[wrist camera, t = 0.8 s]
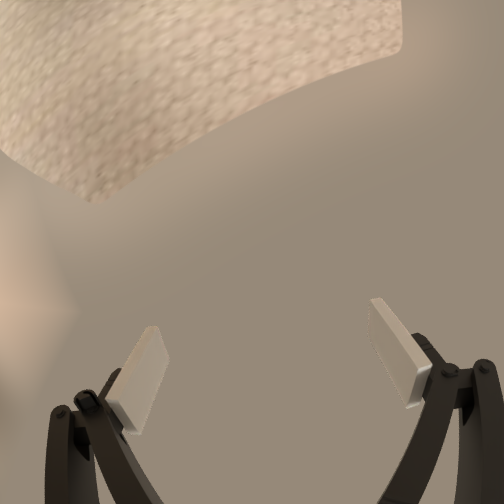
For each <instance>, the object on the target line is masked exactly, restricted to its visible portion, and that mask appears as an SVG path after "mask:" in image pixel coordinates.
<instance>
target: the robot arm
mask: <svg viewBox="0 0 504 504" xmlns="http://www.w3.org/2000/svg"><path fill="white" fill-rule="evenodd" d="M367 336H368V338H369V340H370V342H371V344H372V345H373V347H374V349H375V351H376V353H377V354H378V356H379V358H380V360H381V362H382V364H383V365H384V367H385V369H386V371H387V373H388V375H389V377H390V378H391V380H392V382H393V384H394V386H395V388H396V390H397V392H398V394H399V396H400V398H401V399H402V402H403V404H404V405H405V407H406V409H407V408H410V407H413V406H416V405H419V404H420V401H421V399H422V397H423V398H424V400H425V405H424V407H423V410H422V412H421V415H420V418H419V420H418V423H417V425H416V428H415V430H414V433H413V435H412V437H411V440H410V442H409V444H408V447H407V449H406V451H405V453H404V455H403V457H402V459H401V461H400V463H399V465H398V467H397V469H396V471H395V473H394V475H393V476H392V478H391V480H390V482H389V484H388V485H387V487H386V489H385V491H384V492H383V494H382V496H381V497H380V499H379V501H378V502H377V504H418V503H419V501H420V499H421V497H422V495H423V493H424V491H425V489H426V486H427V484H428V482H429V479H430V477H431V474H432V472H433V470H434V467H435V465H436V462H437V459H438V456H439V454H440V451H441V448H442V445H443V442H444V439H445V436H446V433H447V430H448V426H449V423H450V419H451V416H452V412H453V409H457V408H459V461H458V475H457V486H456V494H455V501H454V504H504V401H503V396H502V392H501V387H500V382H499V378H498V374H497V370H496V367H495V365H494V363H493V362H491V361H489V360H487V359H480V360H478V361H476V362H475V364H474V366H473V368H470V369H459V368H458V367H457V366H456V365H454V364H451V363H446V362H445V361H444V360H443V358H442V357H441V356H440V354H439V353H438V352H437V351H436V350H435V348H433V346H432V345H431V344H430V342H429V341H428V340H427V338H426V337H425V336H423V335H421V334H419V333H415V334H411V335H410V333H409V332H408V331H407V330H406V328H405V327H404V326H403V324H402V323H401V322H400V321H399V319H398V318H397V317H396V316H395V314H394V313H393V312H392V311H391V310H390V308H389V307H388V306H387V305H386V303H385V302H384V301H383V300H382V299H381V298H376V299H370V301H369V320H368V334H367ZM169 361H170V359H169V356H168V353H167V351H166V348H165V346H164V343H163V340H162V337H161V334H160V332H159V329H158V326H152V327H147V328H146V329H145V331H144V333H143V334H142V336H141V337H140V339H139V341H138V343H137V344H136V346H135V347H134V349H133V351H132V353H131V354H130V356H129V358H128V359H127V361H126V363H125V364H124V366H123V368H118V369H116V370H115V371H114V372H113V373H112V374H111V375H110V377H109V379H108V381H107V382H106V384H105V386H104V387H103V389H102V391H101V392H100V394H99V396H98V397H97V395H96V394H95V392H94V391H92V390H87V389H86V390H83V391H81V392H79V393H78V394H77V395H76V396H75V398H74V403H75V405H76V406H77V408H78V409H79V411H71V410H70V408H69V407H68V406H66V405H60V406H57V407H56V408H54V409H53V411H52V412H51V415H50V423H49V430H48V439H47V449H46V464H45V504H100V503H99V498H98V491H97V483H96V473H95V462H94V454H95V457H96V459H97V462H98V465H99V467H100V469H101V472H102V474H103V477H104V479H105V481H106V484H107V486H108V488H109V490H110V492H111V494H112V497H113V499H114V501H115V503H116V504H164V503H163V502H162V500H161V499H160V497H159V496H158V495H157V493H156V491H155V490H154V488H153V487H152V485H151V483H150V482H149V480H148V479H147V477H146V475H145V474H144V472H143V470H142V469H141V467H140V465H139V463H138V462H137V460H136V458H135V456H134V454H133V452H132V451H131V449H130V447H129V445H128V443H127V441H126V439H125V437H124V435H123V434H122V430H123V427H124V428H125V430H126V431H127V432H128V434H135V435H141V433H142V430H143V428H144V425H145V422H146V420H147V417H148V415H149V412H150V409H151V407H152V404H153V402H154V399H155V396H156V394H157V391H158V389H159V386H160V384H161V381H162V378H163V376H164V374H165V371H166V369H167V366H168V363H169Z"/></svg>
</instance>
